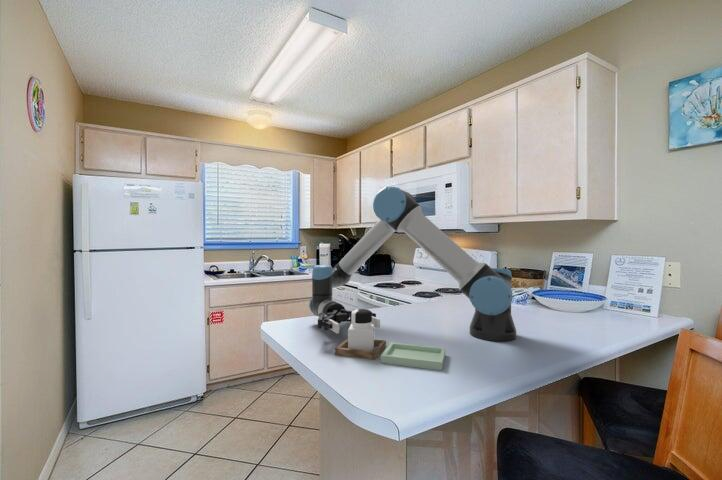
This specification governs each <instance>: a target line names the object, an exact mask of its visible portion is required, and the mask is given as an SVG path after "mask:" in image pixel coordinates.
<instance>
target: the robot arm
mask: <svg viewBox="0 0 722 480" xmlns="http://www.w3.org/2000/svg"><path fill="white" fill-rule="evenodd" d="M372 201H373V203H372V208H373V212H374V215H376V217H377V218H378V220H377V221H376V223H374V225H373V226H372V227H371V228H370V229H369V230H368V231H367V232H366V233H365V234H364V235H363V236H362V238H360V239H359V240H358V242H356V244H354V245H353V247H352V248H351V249H350V250H349V251H348V252H347V253H346V254H345V255H344V257H342V258H341V259H340V261H339V262H337V264H336V265H335V266H334V267H332V265H329V264H317V265H314V266H313V267H312V273H311V274H312V275H311V286H312V287H311V288H312V290H311V291H312V295H311V298H310V299H309V302H308V308H309V311H310V312H311V313H312V314H313V315H314V316H316V317H318V318H317V329H321V328H322V327H323V331H328V330H331V331H332V332H334V333H335V334H340V324H341V323H342V322H343V323H345V322H348V323H351V313H352V311H354V310H355V309H352V310H347V309H346V308H345V306H344V305H343V304H341V303H339V302H337V301H335V300H333V288H336V287H337V288H338V287H341V286H345V285H346V284H348V283H349V282H350V281H351V277H352V276H353V275H354V274H355V273H356V272H357V271H358V270H359V269H360V268H361V267H362V266H363V265H364V263H366V261H367V260H368V259H369V258H371V256H372V255H374V254H375V252H377V251H378V249H379V248H380V247H382V245H383V244H384V243H385V242H386V241H387V240H388V239H389V238H390V237H391V236H392V235H393V234H394V233H396V232H397V233H404V234H406V235H407V236H408V237H409V239H411V240H412V242H414V243H415V244H416V245H417V246H419V247H420V248H421V249H422V250H423V251H424V252H425V253H426V254H427V255H429V257H430V258H432V259H433V260H434V261H435V262H436V263H437V264H438V265H439V266H440V267H441V268H442V269H443V270H445V271H446V272H447V273H448V274H449V275H450V276H451V277H452V278H453V279H454V280H456V281H457V282H458V290H459V291H460V292H461V293H462V294H463V295H465V296H466V297H467V298H468V299H469V301H470V303H471V305H472V306H473V308H474V314H473V317H472V319H471V322H470V325H469V334H470V335H471V336H473V337H475V338H477V339H481V340H486V341H491V342H492V341H494V342H510V341H514V340H516V339H517V328H516V325H515V323H514V319H513V316H512V302H513V298H514V297H513V290H512V280H513V276H512V271H511V269H508V268H496V267H491V266H489V265H488V263H486V262H478V261H476V260H475V259H474V258H473V257H472V256H470V254H468V253H467V252H466V251H465V250H464V249H463V248H462V247H461V246H459V244H457V243H456V242H455V241H454V240H453V239H452V238H450V237H449V235H447V234H446V233H445V232H444V231H442V230H441V229H440V228H439V227H438V226H437V225H436V224H434V223H433V222H432V221H431V220H430V219H429V218H428V217H426V215H424V214H423V211H422V208H423V207H422V206H421V205H420V204H419V203H418V202H416V199H415V198H414V196H413V195H412V194H411V193H410V192H408V191H405V190H403V189H401V188H400V187H397V186H387V187H386V186H385V187H383V188H381V189H380V190H379V191H378V192H377V193H376V194H375V196H374V199H373V200H372ZM372 324H374V328H377V329H380V328H381V319H380V318H378V317H377V313H374V312H372Z"/></svg>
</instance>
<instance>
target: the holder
mask: <svg viewBox="0 0 722 480" xmlns="http://www.w3.org/2000/svg"><path fill="white" fill-rule="evenodd" d="M374 347H375V348H374V349H373V351H365V350H356V349H348V337H347V338H346V339H345V340H343V341H342V342H341V343H339V344H338V346H336V347H335V348H334V355H335V356H345V357H351V358H352V357H353V358H361V359H368V360H369V359H370V360H377V358H379V355H381V354H382V353H383V352H384V350H385V349H386V348H387V340H384V339H376V338H374Z"/></svg>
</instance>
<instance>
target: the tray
mask: <svg viewBox="0 0 722 480" xmlns="http://www.w3.org/2000/svg"><path fill="white" fill-rule="evenodd" d="M446 349H447V348H446V347H437V346H429V345H428V346H427V345H419V344H410V343H400V342H393V341H391V342H390V343H389V344H388V345H387V346H386V347H385V348H384V350H383V351H382V352H381V354H380V363H381V364H386V365H387V364H388V365H396V366H406V367H410V368H411V367H413V368H420V369H427V370H436V371H443V367H444V364H445V359H446V353H447V351H446Z"/></svg>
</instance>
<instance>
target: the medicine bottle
mask: <svg viewBox="0 0 722 480" xmlns="http://www.w3.org/2000/svg"><path fill="white" fill-rule="evenodd" d="M353 310H354V311H353ZM353 310H351V311H352V313H351V322H350V323H351V324H350V325H349V328H348V329H347V333H348V334H347V336H348V337H347V338H348V347H347V349H356V350H365V351H374V350H375V346H374V339H375V327H374V324H372V313H373V312H372V310H369V309H367V308H357V309H353Z"/></svg>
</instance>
